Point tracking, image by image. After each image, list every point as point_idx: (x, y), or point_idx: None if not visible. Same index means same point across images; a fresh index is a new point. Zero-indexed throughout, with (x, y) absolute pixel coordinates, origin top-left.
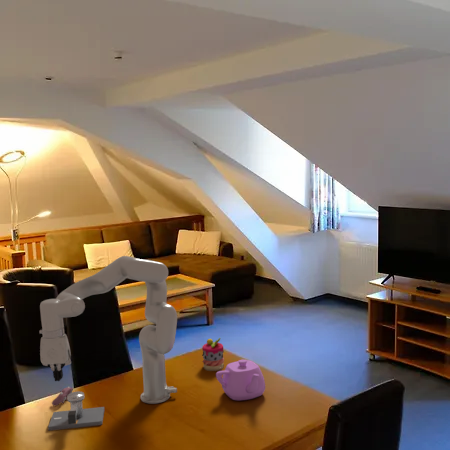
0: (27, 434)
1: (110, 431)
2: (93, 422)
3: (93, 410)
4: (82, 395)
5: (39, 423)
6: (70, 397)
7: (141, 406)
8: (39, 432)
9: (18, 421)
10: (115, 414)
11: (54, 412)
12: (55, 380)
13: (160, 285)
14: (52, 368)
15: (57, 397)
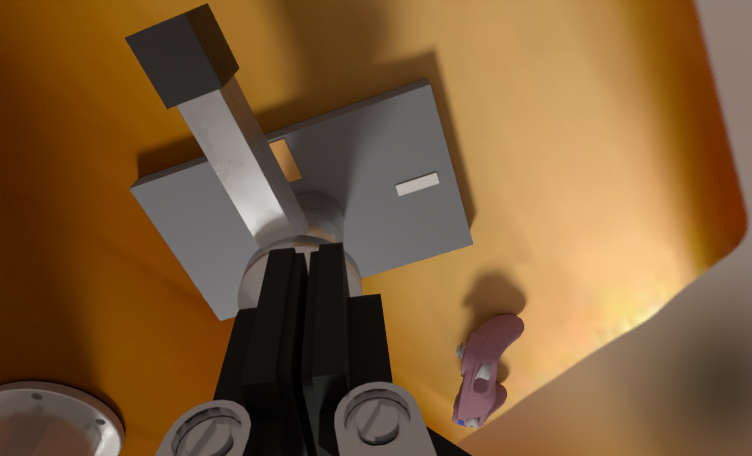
0: (543, 16)
1: (32, 115)
2: (174, 171)
3: None
4: (243, 304)
5: (517, 149)
6: None
7: (60, 357)
8: (474, 50)
9: (648, 155)
10: (138, 281)
11: (466, 240)
12: (328, 246)
13: None
14: (393, 443)
15: (499, 347)
